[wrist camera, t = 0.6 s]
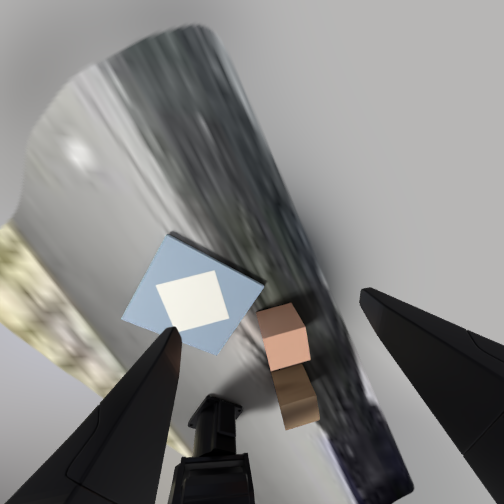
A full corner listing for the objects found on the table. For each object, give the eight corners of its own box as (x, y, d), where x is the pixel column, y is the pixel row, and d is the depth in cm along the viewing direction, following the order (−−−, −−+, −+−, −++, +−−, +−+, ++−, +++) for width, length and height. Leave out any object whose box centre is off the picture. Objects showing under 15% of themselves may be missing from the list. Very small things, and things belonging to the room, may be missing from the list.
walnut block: (305, 385, 32) (319, 419, 27) (276, 394, 32) (285, 430, 27) (301, 363, 30) (316, 395, 26) (271, 372, 30) (279, 406, 25)
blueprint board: (216, 352, 27) (216, 355, 27) (123, 316, 24) (120, 319, 23) (263, 284, 25) (264, 286, 25) (167, 233, 22) (166, 235, 21)
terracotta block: (296, 331, 28) (310, 359, 24) (263, 340, 28) (270, 371, 23) (291, 302, 27) (305, 326, 22) (256, 312, 26) (262, 338, 22)
